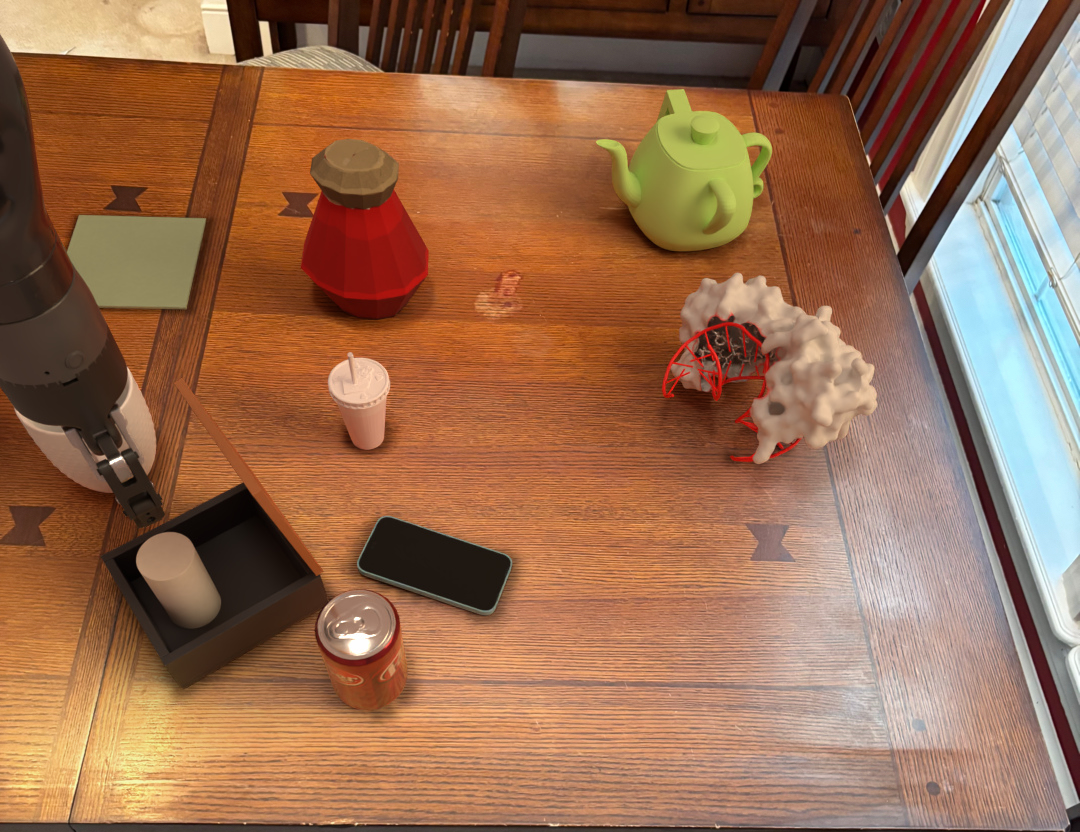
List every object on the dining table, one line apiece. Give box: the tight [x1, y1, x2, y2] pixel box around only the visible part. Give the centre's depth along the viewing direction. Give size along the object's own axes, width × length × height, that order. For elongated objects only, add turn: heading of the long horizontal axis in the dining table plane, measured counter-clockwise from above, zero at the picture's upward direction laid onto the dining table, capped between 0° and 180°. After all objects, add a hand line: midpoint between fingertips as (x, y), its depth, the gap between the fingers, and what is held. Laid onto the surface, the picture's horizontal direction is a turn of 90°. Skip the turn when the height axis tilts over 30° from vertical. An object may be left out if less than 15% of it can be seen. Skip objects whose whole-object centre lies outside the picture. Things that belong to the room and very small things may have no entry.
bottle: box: [300, 138, 430, 321], centre depth 104 cm, size 16×14×20 cm
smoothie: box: [327, 351, 391, 451], centre depth 95 cm, size 6×6×14 cm
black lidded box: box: [100, 482, 329, 691], centre depth 88 cm, size 16×14×6 cm
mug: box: [13, 366, 157, 494], centre depth 91 cm, size 15×11×13 cm
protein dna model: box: [661, 272, 878, 465], centre depth 100 cm, size 20×18×25 cm
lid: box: [173, 377, 324, 576], centre depth 80 cm, size 17×14×1 cm
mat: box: [66, 214, 207, 311], centre depth 113 cm, size 16×16×1 cm
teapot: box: [595, 88, 773, 252], centre depth 117 cm, size 19×20×14 cm
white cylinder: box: [136, 532, 221, 629], centre depth 84 cm, size 5×5×10 cm
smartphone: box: [356, 515, 513, 616], centre depth 93 cm, size 7×1×15 cm
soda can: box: [314, 588, 409, 711], centre depth 82 cm, size 7×7×12 cm
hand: (128, 481), depth 70 cm, fingers open, 8 cm apart
